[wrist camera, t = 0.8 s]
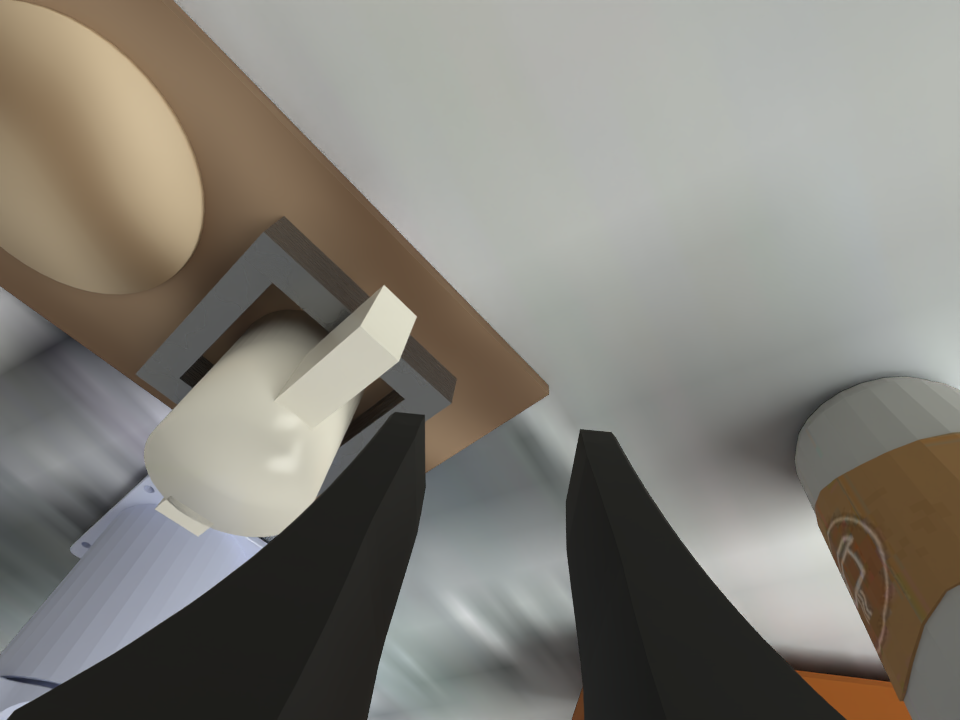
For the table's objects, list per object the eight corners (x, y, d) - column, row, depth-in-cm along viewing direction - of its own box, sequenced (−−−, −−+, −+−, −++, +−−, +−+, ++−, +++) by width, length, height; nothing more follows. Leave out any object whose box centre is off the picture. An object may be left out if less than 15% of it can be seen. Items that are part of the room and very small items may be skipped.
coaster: (127, 333, 21) (122, 337, 21) (-116, 151, 18) (-126, 153, 17) (257, 179, 17) (253, 181, 17) (-23, -87, 14) (-33, -89, 14)
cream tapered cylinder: (307, 441, 23) (240, 563, 18) (209, 366, 21) (105, 477, 16) (464, 319, 19) (438, 430, 14) (361, 215, 17) (287, 298, 12)
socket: (323, 474, 24) (311, 501, 23) (160, 351, 21) (134, 374, 20) (456, 378, 21) (451, 403, 19) (284, 215, 18) (263, 232, 16)
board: (342, 518, 27) (338, 528, 26) (-192, 130, 18) (-213, 134, 18) (548, 385, 21) (549, 394, 21) (-76, -255, 13) (-101, -266, 12)
